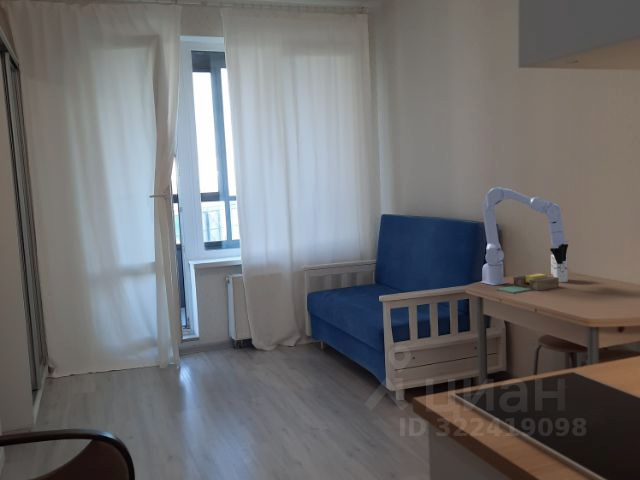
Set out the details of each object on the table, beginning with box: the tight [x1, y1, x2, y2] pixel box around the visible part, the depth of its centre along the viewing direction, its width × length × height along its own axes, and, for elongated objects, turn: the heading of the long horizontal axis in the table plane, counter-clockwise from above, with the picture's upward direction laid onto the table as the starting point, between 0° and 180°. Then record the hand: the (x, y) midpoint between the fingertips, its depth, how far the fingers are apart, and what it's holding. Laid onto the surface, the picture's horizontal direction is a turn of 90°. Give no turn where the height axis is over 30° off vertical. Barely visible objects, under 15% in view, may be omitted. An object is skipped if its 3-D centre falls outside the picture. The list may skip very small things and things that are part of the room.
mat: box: [496, 285, 532, 294], centre depth 268 cm, size 10×10×1 cm
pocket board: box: [513, 273, 560, 291], centre depth 273 cm, size 14×12×4 cm
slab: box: [526, 273, 547, 282], centre depth 273 cm, size 4×8×3 cm, turn 116°
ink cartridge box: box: [550, 252, 569, 283], centre depth 282 cm, size 9×5×15 cm, turn 179°
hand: (561, 262), depth 269 cm, fingers open, 7 cm apart
